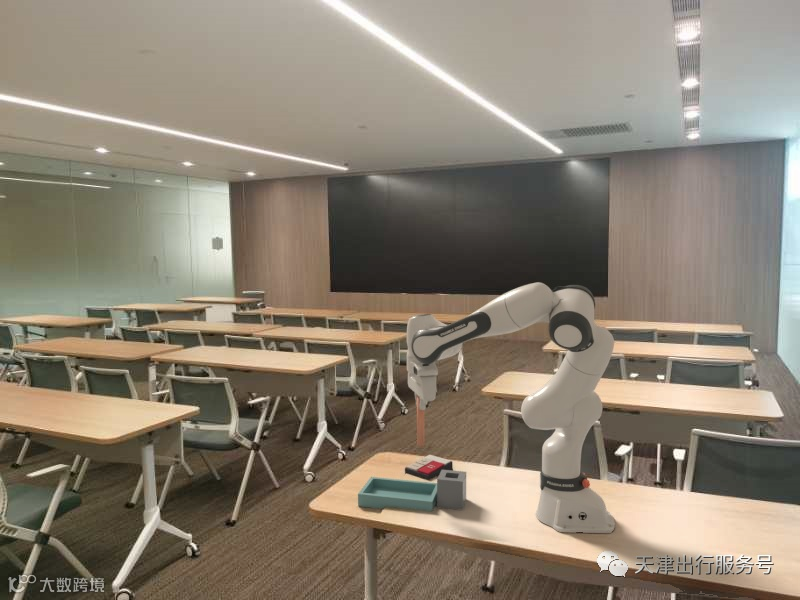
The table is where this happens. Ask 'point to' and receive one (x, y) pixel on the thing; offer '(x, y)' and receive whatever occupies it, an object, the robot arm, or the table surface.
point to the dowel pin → (420, 425)
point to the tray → (398, 494)
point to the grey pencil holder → (451, 489)
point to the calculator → (428, 467)
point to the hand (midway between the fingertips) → (420, 407)
